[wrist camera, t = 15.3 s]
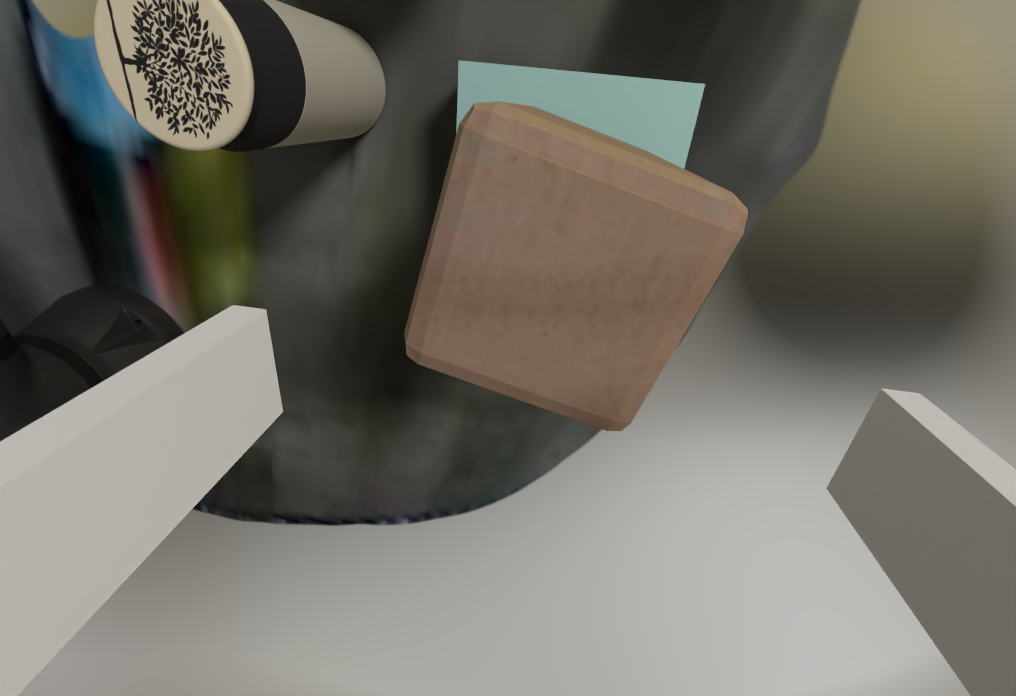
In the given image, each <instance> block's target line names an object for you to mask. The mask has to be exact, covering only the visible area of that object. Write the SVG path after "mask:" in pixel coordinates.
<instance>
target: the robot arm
mask: <svg viewBox="0 0 1016 696" xmlns="http://www.w3.org/2000/svg"><path fill="white" fill-rule="evenodd" d="M282 412H283V409H282V403H281V397H280V391H279V385H278V379H277V373H276V367H275V361H274V355H273V349H272V342H271V336H270V330H269V324H268V318H267V312H266V309H259V308H251V307H243V306H235V305H232V306H231V307H229V308H227V309H225V310H224V311H222V312H220V313H219V314H217V315H215V316H213V317H212V318H210V319H208V320H207V321H205V322H203V323H202V324H200V325H198V326H196V327H195V328H193V329H191V330H190V331H188V332H186V333H183V331H182V330H181V328H180V327H179V326H178V325H177V324H176V322H175V321H174V320H173V319H172V318H171V317H170V316H169V315H168V314H167V313H166V312H165V311H163V310H162V309H161V308H160V307H158V306H157V305H156V304H154V303H153V302H151V301H150V300H148V299H147V298H145V297H143V296H141V295H139V294H137V293H135V292H133V291H130V290H127V289H124V288H121V287H117V286H112V285H92V286H88V287H85V288H82V289H79V290H77V291H74V292H71V293H68V294H66V295H64V296H62V297H60V298H59V299H57V300H56V301H55V302H53V303H52V304H51V305H50V307H49V308H47V309H46V310H45V311H44V312H42V313H41V314H40V315H39V316H38V317H37V318H35V319H34V320H33V321H32V322H31V323H30V324H29V325H27V326H26V327H25V328H24V329H23V330H22V331H21V332H20V333H18V334H17V335H15V336H13V337H12V336H11V334H10V333H9V331H8V329H7V328H6V326H5V325H4V323H3V321H2V320H1V318H0V696H18V695H19V694H20V693H21V691H22V690H23V689H24V688H25V687H26V686H27V685H28V684H29V683H30V682H31V681H32V680H33V679H34V678H35V677H36V676H37V674H38V673H39V672H40V671H41V670H42V669H43V668H44V667H45V666H46V665H47V663H49V661H50V660H51V659H52V658H53V657H54V656H55V655H56V654H57V653H58V652H59V651H60V650H61V649H62V648H63V647H64V646H65V644H66V643H67V642H68V641H69V640H70V639H71V638H72V637H73V636H74V635H75V634H76V633H77V632H78V630H79V629H80V628H81V627H82V626H83V625H84V624H85V623H86V622H87V621H88V620H89V619H90V618H91V617H92V616H93V615H94V613H95V612H96V611H97V610H98V609H99V608H100V607H101V606H102V605H103V604H104V603H105V602H106V600H108V598H109V597H110V596H111V595H112V594H113V593H114V592H115V591H116V590H117V589H118V588H119V587H120V586H121V584H122V583H123V582H124V581H125V580H126V579H127V578H128V577H129V576H130V575H131V574H132V573H133V572H134V571H135V570H136V568H137V567H138V566H139V565H140V564H141V563H142V562H143V561H144V560H145V559H146V558H147V557H148V556H149V555H150V554H151V552H152V551H153V550H154V549H155V548H156V547H157V546H158V545H159V544H160V543H161V541H163V540H164V539H165V537H166V536H167V535H168V534H169V533H170V532H171V531H172V530H173V529H174V528H175V527H176V525H178V524H179V522H180V521H181V520H182V519H183V518H184V517H185V516H186V515H187V514H188V513H189V512H190V511H191V510H192V509H193V507H194V506H195V505H196V504H197V503H198V502H199V501H200V500H201V499H202V498H203V497H204V496H205V495H206V494H207V493H208V491H209V490H210V489H211V488H212V487H213V486H214V485H215V484H216V483H217V482H218V481H219V480H220V479H221V478H222V476H223V475H224V474H225V473H226V472H227V471H228V470H229V469H230V468H231V467H232V466H233V465H234V464H235V463H236V461H237V460H238V459H239V458H240V457H241V456H242V455H243V454H244V453H245V452H246V451H247V450H248V449H249V448H250V446H251V445H252V444H253V443H254V442H255V441H256V440H257V439H258V438H259V437H260V436H261V435H262V434H263V433H264V432H265V430H266V429H267V428H268V427H269V426H270V425H271V424H272V423H273V422H274V421H275V420H276V419H277V418H278V417H279V415H280V414H281V413H282ZM827 490H828V491H829V493H830V494H831V495H832V497H833V498H834V500H835V501H836V502H837V504H838V505H839V507H840V508H841V510H842V511H843V513H844V514H845V515H846V517H847V518H848V520H849V521H850V523H851V524H852V526H853V527H854V528H855V530H856V531H857V533H858V534H859V536H860V537H861V539H862V540H863V541H864V543H865V544H866V546H867V547H868V549H869V550H870V551H871V553H872V554H873V556H874V557H875V559H876V560H877V561H878V563H879V564H880V566H881V567H882V569H883V570H884V571H885V573H886V575H887V576H888V577H889V579H890V580H891V582H892V583H893V585H894V586H895V587H896V589H897V590H898V592H899V593H900V595H901V596H902V598H903V599H904V600H905V602H906V603H907V605H908V606H909V608H910V609H911V610H912V612H913V613H914V615H915V616H916V618H917V619H918V620H919V622H920V623H921V625H922V626H923V628H924V629H925V631H926V632H927V633H928V635H929V636H930V638H931V639H932V641H933V642H934V644H935V645H936V646H937V648H938V649H939V651H940V652H941V654H942V655H943V656H944V658H945V659H946V661H947V662H948V664H949V665H950V667H951V668H952V669H953V671H954V672H955V673H956V675H957V677H958V678H959V680H960V681H961V682H962V684H963V685H964V687H965V688H966V690H967V691H968V692H969V694H970V695H971V696H1016V470H1015V469H1014V468H1013V467H1012V466H1010V465H1009V464H1008V463H1007V462H1005V461H1004V460H1003V459H1001V458H1000V457H999V456H998V455H997V454H995V453H994V452H993V451H991V450H990V449H989V448H988V447H986V446H985V445H984V444H983V443H981V442H980V441H979V440H978V439H976V438H975V437H974V436H972V435H971V434H970V433H969V432H968V431H966V430H965V429H964V428H963V427H961V426H960V425H959V424H958V423H956V422H955V421H954V420H952V419H951V418H950V417H949V416H947V415H946V414H945V413H944V412H942V411H941V410H940V409H939V408H937V407H936V406H935V405H934V404H932V403H931V402H930V401H928V400H927V399H926V398H925V397H924V396H922V395H921V394H920V393H912V392H904V391H896V390H889V389H881V390H880V391H879V393H878V395H877V397H876V399H875V401H874V402H873V404H872V406H871V408H870V410H869V412H868V413H867V415H866V417H865V419H864V421H863V423H862V424H861V426H860V428H859V430H858V432H857V433H856V435H855V437H854V439H853V441H852V443H851V444H850V446H849V448H848V450H847V452H846V454H845V456H844V457H843V459H842V461H841V463H840V465H839V466H838V468H837V470H836V472H835V474H834V476H833V477H832V479H831V481H830V483H829V485H828V487H827Z"/></svg>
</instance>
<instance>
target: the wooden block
mask: <svg viewBox="0 0 1016 696" xmlns="http://www.w3.org/2000/svg"><path fill="white" fill-rule="evenodd" d="M747 216H748V210H747V208H746V207H745V206H744V205H743V204H742V203H741V202H740V200H739V199H738V198H737V197H736V196H735V195H734V194H733V193H732V192H730V191H728V190H726V189H724V188H722V187H720V186H718V185H716V184H714V183H712V182H709V181H707V180H705V179H703V178H701V177H699V176H697V175H695V174H693V173H691V172H689V171H687V170H685V169H683V168H681V167H679V166H677V165H675V164H673V163H671V162H669V161H666V160H664V159H662V158H660V157H658V156H656V155H654V154H652V153H650V152H648V151H646V150H643V149H641V148H638V147H636V146H633V145H631V144H628V143H626V142H623V141H620V140H618V139H615V138H613V137H610V136H608V135H605V134H603V133H600V132H597V131H595V130H592V129H590V128H587V127H585V126H582V125H580V124H577V123H575V122H572V121H569V120H567V119H564V118H562V117H559V116H557V115H554V114H552V113H549V112H546V111H544V110H541V109H539V108H536V107H534V106H527V105H520V104H513V103H507V102H500V101H496V102H482V103H474V104H473V105H472V107H471V108H470V110H469V111H468V112H467V114H466V115H465V116H464V118H463V119H462V120H461V122H460V123H459V126H458V130H457V134H456V138H455V141H454V145H453V149H452V153H451V157H450V160H449V164H448V168H447V172H446V176H445V179H444V183H443V187H442V191H441V195H440V199H439V202H438V206H437V210H436V214H435V218H434V221H433V225H432V229H431V233H430V237H429V240H428V244H427V248H426V252H425V256H424V259H423V263H422V267H421V271H420V275H419V278H418V282H417V286H416V290H415V294H414V297H413V301H412V305H411V309H410V313H409V316H408V320H407V324H406V328H405V332H404V336H405V342H406V354H407V356H408V357H410V358H411V359H412V360H414V361H415V362H416V363H418V364H419V365H422V366H425V367H428V368H430V369H433V370H436V371H439V372H442V373H445V374H447V375H450V376H453V377H456V378H459V379H462V380H465V381H467V382H470V383H473V384H476V385H479V386H482V387H484V388H487V389H490V390H493V391H496V392H499V393H501V394H504V395H507V396H510V397H513V398H516V399H518V400H521V401H524V402H527V403H530V404H533V405H535V406H538V407H541V408H544V409H547V410H550V411H552V412H555V413H558V414H561V415H564V416H567V417H569V418H572V419H575V420H578V421H581V422H584V423H587V424H589V425H592V426H595V427H598V428H601V429H604V430H606V431H621V430H623V429H624V428H625V427H627V426H628V425H629V424H630V423H631V422H632V420H633V419H634V417H635V415H636V414H637V412H638V410H639V408H640V407H641V405H642V403H643V402H644V400H645V398H646V396H647V395H648V393H649V392H650V390H651V388H652V387H653V385H654V383H655V382H656V380H657V378H658V377H659V375H660V373H661V371H662V370H663V368H664V366H665V365H666V363H667V361H668V360H669V358H670V356H671V355H672V353H673V351H674V350H675V348H676V346H677V345H678V343H679V341H680V340H681V338H682V336H683V334H684V333H685V331H686V329H687V328H688V326H689V324H690V323H691V321H692V319H693V318H694V316H695V314H696V313H697V311H698V309H699V308H700V306H701V304H702V302H703V301H704V299H705V297H706V296H707V294H708V292H709V291H710V289H711V287H712V286H713V284H714V282H715V281H716V279H717V277H718V276H719V274H720V272H721V271H722V269H723V267H724V265H725V264H726V262H727V260H728V259H729V257H730V255H731V254H732V252H733V250H734V249H735V247H736V245H737V244H738V242H739V240H740V239H741V237H742V235H743V233H744V228H745V224H746V220H747Z"/></svg>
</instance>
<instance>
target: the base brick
mask: <svg viewBox="0 0 1016 696" xmlns="http://www.w3.org/2000/svg"><path fill="white" fill-rule="evenodd" d="M704 87H705V84H699V83H688V82H678V81H667V80H657V79H647V78H636V77H626V76H615V75H605V74H595V73H584V72H574V71H563V70H553V69H543V68H532V67H522V66H511V65H501V64H490V63H480V62H470V61H459V69H458V98H457V128H456V134H457V130H458V126H459V123H460V122H461V120H462V119H463V118H464V116H465V115H466V114H467V112H468V111H469V110H470V108H471V107H472V105H473V104H474V103H482V102H496V101H500V102H507V103H513V104H520V105H527V106H534V107H536V108H539V109H541V110H544V111H546V112H549V113H552V114H554V115H557V116H559V117H562V118H564V119H567V120H569V121H572V122H575V123H577V124H580V125H582V126H585V127H587V128H590V129H592V130H595V131H597V132H600V133H603V134H605V135H608V136H610V137H613V138H615V139H618V140H620V141H623V142H626V143H628V144H631V145H633V146H636V147H638V148H641V149H643V150H646V151H648V152H650V153H652V154H654V155H656V156H658V157H660V158H662V159H664V160H666V161H669V162H671V163H673V164H675V165H677V166H679V167H681V168H683V169H684V167H685V163H686V159H687V155H688V151H689V147H690V143H691V139H692V135H693V131H694V127H695V123H696V119H697V115H698V111H699V107H700V103H701V99H702V95H703V91H704Z"/></svg>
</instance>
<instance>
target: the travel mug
mask: <svg viewBox="0 0 1016 696" xmlns="http://www.w3.org/2000/svg"><path fill="white" fill-rule="evenodd" d="M94 38H95V45H96V50H97V54H98V58H99V61H100V65H101V67H102V70H103V73H104V75H105V77H106V79H107V82H108V83H109V85H110V87H111V89H112V91H113V92H114V94H115V96H116V97H117V99H118V100H119V102H120V103H121V104H122V106H123V107H124V108H125V110H126V111H127V112H128V113H129V114H130V115H131V116H132V118H133V119H134V120H135V121H136V122H137V123H139V124H140V125H141V126H142V127H143V128H144V129H145V130H147V131H148V132H149V133H151V134H152V135H154V136H155V137H157V138H158V139H160V140H162V141H164V142H166V143H168V144H170V145H172V146H175V147H178V148H181V149H185V150H190V151H209V150H214V149H217V148H220V149H223V150H227V151H235V152H242V151H251V150H259V149H267V148H275V147H283V146H290V145H298V144H306V143H314V142H322V141H329V140H337V139H345V138H352V137H356V136H359V135H361V134H363V133H365V132H366V131H368V130H369V129H370V128H371V127H372V126H373V125H374V124H375V123H376V121H377V120H378V118H379V116H380V114H381V112H382V109H383V106H384V101H385V79H384V74H383V70H382V67H381V65H380V62H379V60H378V58H377V56H376V54H375V52H374V51H373V49H372V48H371V47H370V45H369V44H368V43H367V42H366V41H365V40H364V39H363V38H362V37H361V36H360V35H359V34H357V33H356V32H354V31H353V30H351V29H349V28H347V27H345V26H342V25H340V24H337V23H334V22H332V21H329V20H327V19H324V18H321V17H319V16H316V15H313V14H311V13H308V12H306V11H303V10H300V9H298V8H295V7H292V6H290V5H287V4H285V3H282V2H279V1H277V0H98V2H97V5H96V10H95V17H94Z"/></svg>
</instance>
